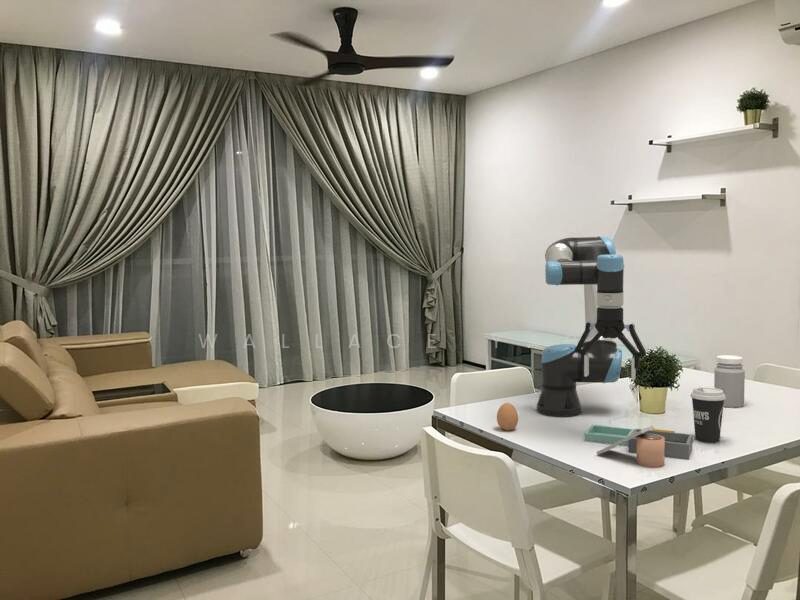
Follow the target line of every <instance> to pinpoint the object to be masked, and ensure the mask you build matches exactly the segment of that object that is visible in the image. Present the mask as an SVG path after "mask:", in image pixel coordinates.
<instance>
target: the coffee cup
mask: <svg viewBox="0 0 800 600" xmlns="http://www.w3.org/2000/svg"><path fill="white" fill-rule="evenodd" d="M689 396H690V398H691V401H692V412H693V413H692V414H693V426H694V437H695V440H696V441H697V442H701V443H705V444H706V443H707V444H716V443H719V442H720V440H721V431H722V430H721V429H722V422H723V421H722V420H723V411H724V407H723V405H724V400H725V399H726V397H725V394H724V393H723V391H722V390H720V389H716V388H714V387H708V386H707V387H706V386H705V387H704V386H703V387H695V388H693V389H692V391H691V393H690V395H689Z"/></svg>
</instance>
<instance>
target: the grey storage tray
mask: <svg viewBox="0 0 800 600" xmlns="http://www.w3.org/2000/svg"><path fill="white" fill-rule="evenodd" d="M633 429H634V431H633V432H632V434H634V433H636V432H638V431H641V430H643V429H644V428H643V429H642V428H633ZM632 434H631V435H632ZM643 434H656V435H660V436H663V437H664V438H665V457H666V458H673V459H684V460H689V459H690V457H691V455H692V451H693V443H694V442H693V441H694V440H693V437H694V436H693V435H694V434H692V433H684V432H683V433H681V432H675V430H673V429H663V428H653V429H651V430H649V431H647V432H645V433H643ZM666 441H669V442H666ZM675 442H678V443H675ZM684 443H686V444H684ZM636 448H637V436H636V437H634V438H632V439H630V440H629V447H628V453H633V454H636Z"/></svg>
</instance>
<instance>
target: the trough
mask: <svg viewBox="0 0 800 600" xmlns="http://www.w3.org/2000/svg"><path fill="white" fill-rule="evenodd" d="M634 429H635V428H626V427H619V426H618V427H617V426H608V425H607V426H606V425H597V424H592V425H590V427H588V429H587V430H586V431H585V432H584V433H583V434H584V436H583V437H584V439H583V441H584V442H589V443H595V444H596V443H597V444H603V445H604V444H605V445H612V444H614V443H616V442H618V441H620V440H622V439H624V438H626V437H628V436H630V435H631V434H632V432H633V431H634ZM618 446H620V447H627V448H629V440H628V441H626V442H624V443H622V444H620V445H618Z"/></svg>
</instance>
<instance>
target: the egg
mask: <svg viewBox="0 0 800 600" xmlns="http://www.w3.org/2000/svg"><path fill="white" fill-rule="evenodd" d="M496 422H497V425H498V426H499V428H501V430H503V429H504V430H503V431H506V430H510V431H512V430H514V429H515V428H516V427H517V426H518V423H519V414H518V411H517V409H516V407H515V406H514V404H512V403H510V402H505V403H503V404H501V405H500V407H499V408H498V410H497V413H496Z"/></svg>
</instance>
